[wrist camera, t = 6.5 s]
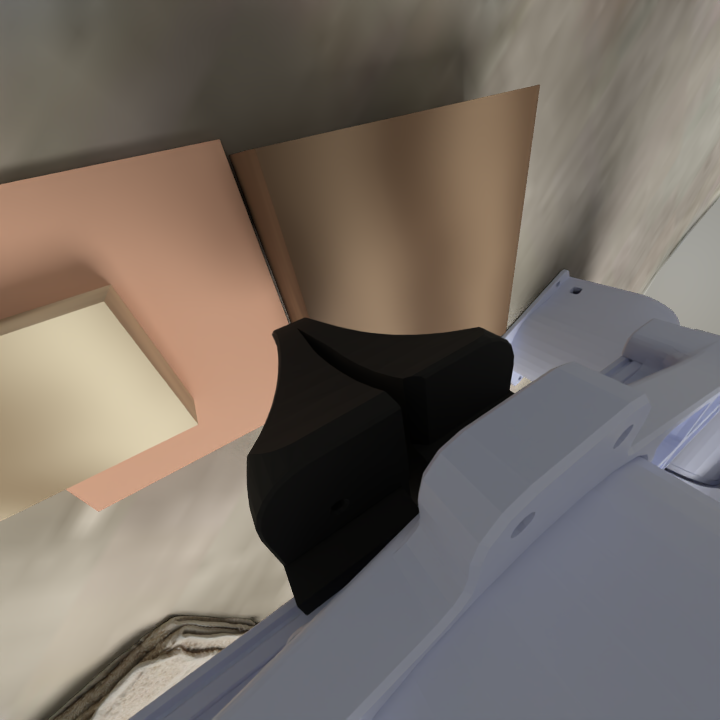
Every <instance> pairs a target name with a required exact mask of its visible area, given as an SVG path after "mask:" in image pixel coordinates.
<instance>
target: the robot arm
mask: <svg viewBox="0 0 720 720" xmlns="http://www.w3.org/2000/svg"><path fill="white" fill-rule="evenodd" d="M272 336H273V339H274V341H275V343H276V346H277V351H278V377H277V385H276V390H275V394H274V398H273V403H272V406H271V409H270V412H269V414H268V417H267V419H266V422H265V424H264V427H263V429H262V431H261V433H260V435H259V437H258V439H257V440H256V442H255V444H254V446H253V448H252V449H251V451H250V452H249V454H248V456H247V491H248V499H249V506H250V511H251V514H252V518H253V522H254V525H255V529H256V531H257V533H258V535H259V537H260V539H261V541H262V542H263V543H264V544H265V545H266V547H267V548H268V549H269V550H270V551H271V552H272V553H273V554H274V555H275V557H276V558H277V559H278V560H279V561H280V562H281V563H282V564H283V565H284V568H285V571H286V574H287V577H288V580H289V583H290V586H291V589H292V592H293V595H294V597H293V598H292V599H291V600H289V601H288V602H287V603H285V604H284V605H282V606H281V607H280V608H278V609H277V610H276V611H274V612H273V613H272V614H270V615H269V616H268V617H266V618H265V619H263V620H262V621H261V622H259V623H258V624H257V625H255V626H254V627H253V628H251V629H250V630H249V631H247V632H246V633H244V634H243V635H242V636H240V637H239V638H238V639H236V640H235V641H234V642H232V643H231V644H230V645H228V646H227V647H225V648H224V649H223V650H221V651H220V652H219V653H217V654H216V655H215V656H213V657H212V658H211V659H209V660H208V661H206V662H205V663H204V664H202V665H201V666H200V667H198V668H197V669H196V670H194V671H193V672H192V673H190V674H189V675H187V676H186V677H185V678H183V679H182V680H181V681H179V682H178V683H177V684H175V685H174V686H173V687H171V688H170V689H168V690H167V691H166V692H164V693H163V694H162V695H160V696H159V697H158V698H156V699H155V700H154V701H152V702H151V703H149V704H148V705H147V706H145V707H144V708H143V709H141V710H140V711H139V712H137V713H136V714H135V715H133V716H132V717H130V718H129V719H128V720H720V335H716V334H712V333H709V332H705V331H702V330H698V329H690V328H687V327H683V326H680V323H679V320H678V318H677V316H676V315H675V314H674V312H673V311H672V310H671V309H670V308H668V307H667V306H665V305H664V304H662V303H660V302H659V301H656V300H655V299H652V298H650V297H648V296H645V295H642V294H638V293H634V292H630V291H626V290H622V289H618V288H614V287H610V286H606V285H602V284H598V283H594V282H590V281H586V280H582V279H578V278H574V277H570V276H569V271H568V270H565V269H564V270H562V271H561V272H560V273H559V274H558V275H557V276H556V277H555V278H554V279H553V280H552V282H551V283H550V284H549V285H548V286H547V287H546V288H545V289H544V290H543V292H542V293H541V294H540V295H539V296H538V297H537V298H536V299H535V300H534V301H533V303H532V304H531V305H530V306H529V307H528V308H527V309H526V310H525V311H524V313H523V314H522V315H521V316H520V317H519V318H518V319H517V320H516V321H515V322H514V324H513V325H512V326H511V327H510V328H509V329H508V330H507V331H506V333H505V334H504V335H503V336H502V337H500V336H498V335H496V334H494V333H492V332H490V331H488V330H486V329H484V328H481V327H475V328H469V329H463V330H457V331H451V332H443V333H432V334H417V335H393V334H379V333H369V332H363V331H357V330H352V329H347V328H343V327H339V326H335V325H331V324H327V323H324V322H320V321H317V320H313V319H310V318H305V317H304V318H302V319H300V320H297V321H295V322H293V323H290V324H288V325H286V326H283V327H281V328H279V329H276V330H274V331H273V333H272ZM523 377H525V378H527V379H529V380H531V381H532V382H531V383H530V384H528V385H527V386H525V387H524V388H522V389H521V390H519V391H518V392H516V393H513V392H511V391H510V384H512V385H514V386H515V385H517V384H518V383H519V382H520V381H521V379H522V378H523Z"/></svg>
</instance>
